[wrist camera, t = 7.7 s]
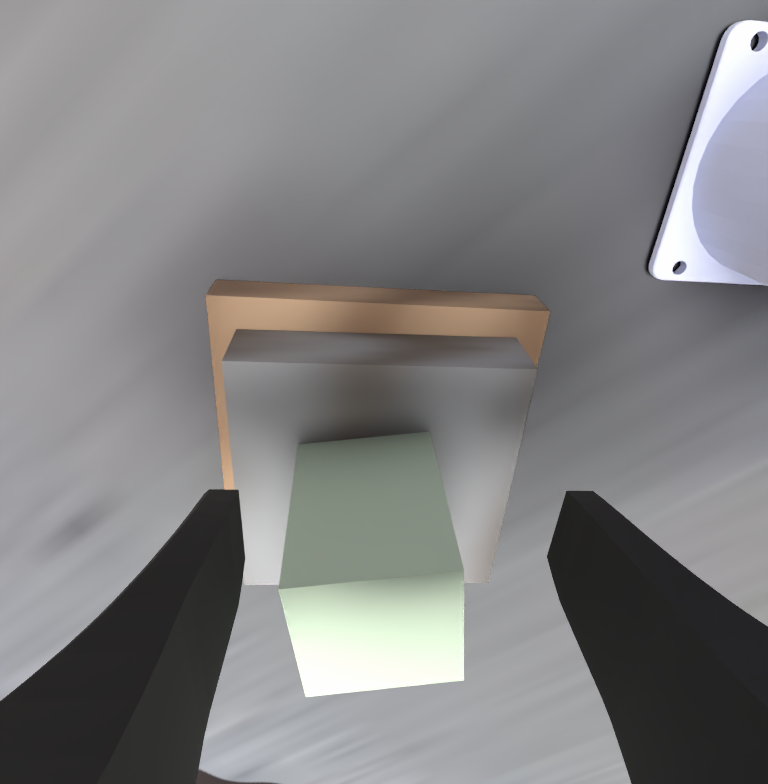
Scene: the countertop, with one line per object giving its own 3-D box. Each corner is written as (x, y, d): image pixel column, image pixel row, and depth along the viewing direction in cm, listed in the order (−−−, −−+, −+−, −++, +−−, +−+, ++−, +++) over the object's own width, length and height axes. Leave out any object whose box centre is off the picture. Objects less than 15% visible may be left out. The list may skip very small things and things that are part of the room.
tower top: (516, 337, 19) (537, 369, 17) (475, 538, 24) (488, 582, 22) (236, 329, 18) (221, 361, 16) (253, 538, 23) (244, 584, 21)
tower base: (529, 289, 21) (550, 311, 19) (480, 516, 27) (492, 553, 25) (220, 273, 20) (205, 295, 18) (240, 513, 26) (230, 552, 24)
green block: (429, 431, 18) (464, 570, 13) (432, 528, 20) (463, 680, 15) (297, 444, 18) (278, 589, 13) (315, 540, 20) (305, 696, 15)
